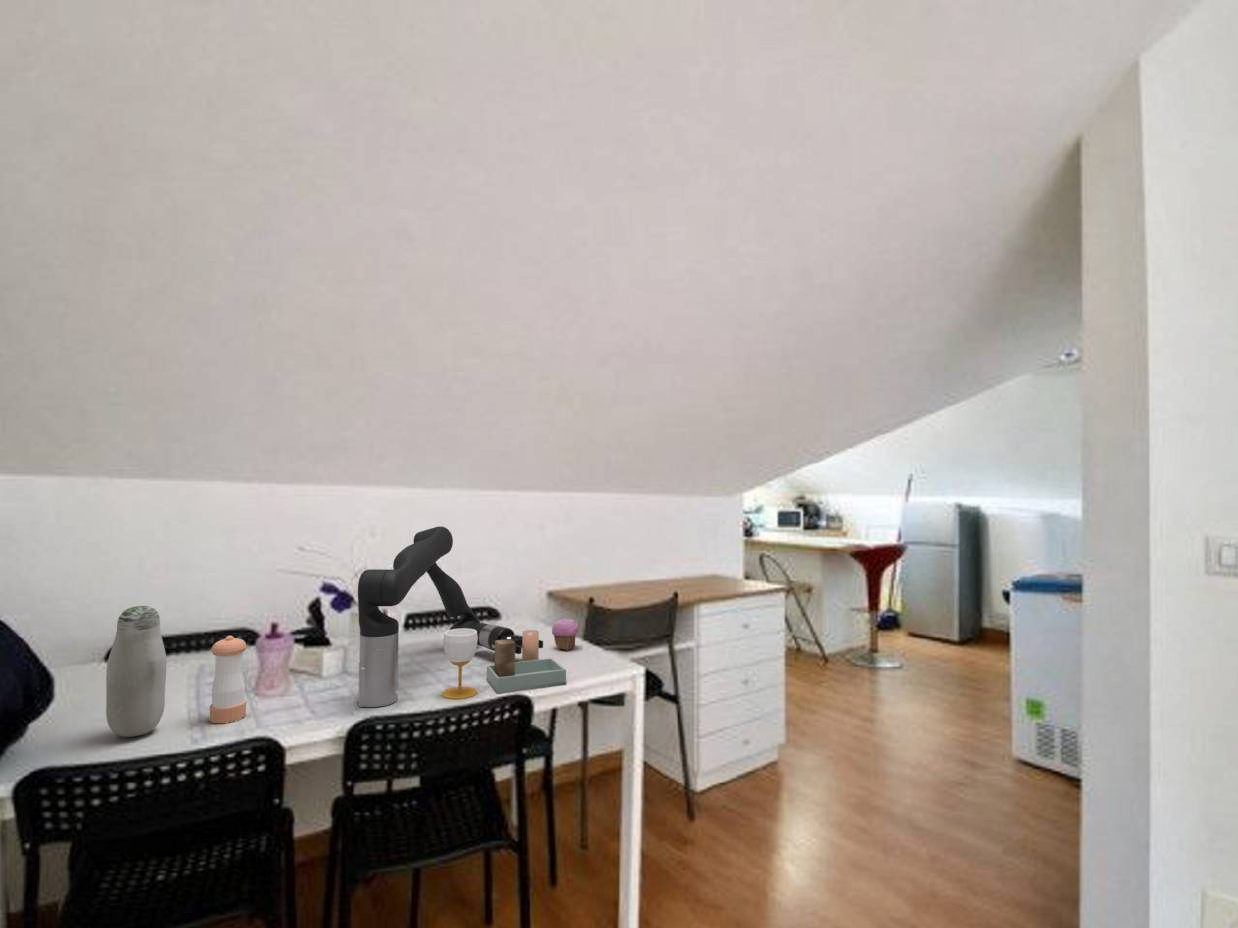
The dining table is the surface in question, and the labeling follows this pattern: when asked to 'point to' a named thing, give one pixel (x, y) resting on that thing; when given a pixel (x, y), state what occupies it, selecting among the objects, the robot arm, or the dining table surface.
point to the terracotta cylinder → (530, 645)
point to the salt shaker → (228, 681)
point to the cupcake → (565, 633)
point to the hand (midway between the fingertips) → (531, 647)
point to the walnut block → (505, 658)
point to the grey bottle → (136, 673)
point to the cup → (460, 658)
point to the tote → (528, 676)
